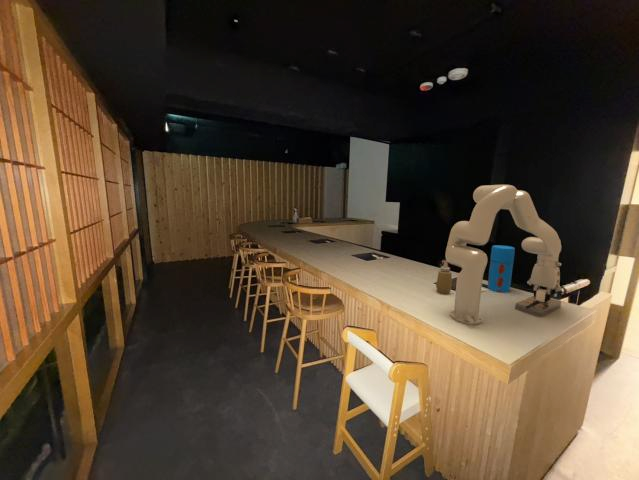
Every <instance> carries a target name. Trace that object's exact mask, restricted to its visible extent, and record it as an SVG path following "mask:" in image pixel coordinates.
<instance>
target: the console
mask: <svg viewBox="0 0 639 480" xmlns="http://www.w3.org/2000/svg"><path fill="white" fill-rule="evenodd" d="M561 305H562V301H561V300H558V299H555V298H550V300H549V301H548V302H541V303H539V301H537V300H535V299H534V295H532V296H530V297H528V298H525V299H523V300H520V301H518V302H516V303H515V305H514V306H515V308H514V309H515V310H517V311H519V312H523V313H526V314H529V315H532V316H535V317H539V318H542V317H544V316H546V315H547V314H549V313H551V312H554V311H555V310H558V309H559V308H561Z"/></svg>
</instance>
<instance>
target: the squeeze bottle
mask: <svg viewBox="0 0 639 480" xmlns="http://www.w3.org/2000/svg"><path fill="white" fill-rule="evenodd" d="M452 277H453V276H452V272H451V267H449V263H448V261H447V260H444V263H443V265H442V266H440V270H439V271H438V273H437V279H436V284H435V286H436V287H435V288H436V291H437V292H438V293H439V294H441V295H442V294H443V295H448V294H450V293H451V290H452V288H453V286H452V284H453V282H452V281H453V280H452Z"/></svg>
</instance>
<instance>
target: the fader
mask: <svg viewBox="0 0 639 480" xmlns="http://www.w3.org/2000/svg"><path fill="white" fill-rule="evenodd" d="M546 294H547V289H543V288H539V289H538V290H537V292H536V299H535V300H537V301H539V303H541V302H545V295H546Z"/></svg>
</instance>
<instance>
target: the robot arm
mask: <svg viewBox="0 0 639 480" xmlns="http://www.w3.org/2000/svg"><path fill="white" fill-rule="evenodd" d="M472 198H473V200H474V202H475V203H476V204H475V206H474V208H473V210H472V212H471V216H470V219H469V221H468V220H461V221H458V222H456V223H455V224H454V225H453V226H452V227H451V230H450V232H449V236H448V241H447V244H446V245H447V246H446V248H445V261H447V263H448V264H450V265H453V266H456V267H459V268H461V271H459V273H458V275H457V277H456V286H455V299H454V305H453V306H454V309H453V310H451V311H450V312H449V316H450V318H451V319H452V320H454V321H456V322H459V323H461V324H466V325H480V324H482V323H483V317H482V316H481V315H480V306H481V297H482V296H481V295H482V287H483V278H484V273H485V270H486V268H487V264H488V260H489V259H488V256H487V254H486V253H485V252H484V251H483V250H481V249H479V248H475V247H471V246H468V245H467V244H470V245H475V246H485V245H486V244H487V243H488V242H489V240H490V236H491V232H492V229H493V226H494V222H495V219H496V216H497V214H498V212H499V211H500V210H508V211H509V212H510V214H511V216H512V219H513V221H514V224H515V225H516V226H517V228H519V229H521V230H523V231H525V232H527V233H530V234H532V235H534V236H529V237H526V238H525V239H523V240H522V242H521V248H522V250H523V251H525V252H527V253H530V254H535V255H537V258H536V259H537V260H536V263H535V264H534V266H533V268H532V271H531V274H530V278H529V279H528V280H527V281H526V283H527V285H529V286H530V287H531V288H532V290H533V296H534V299H536V292H537V290H538V289H540V287H542V288H543V287H544V288H546V290H547V294H546V295H545V302H548V301H549V300H550V298H551V297H552V294H554V293H557V292H561V291H562V290H563V289H562V287H561V286H560V282H561V281H560V280H561V272H560V267H561V266H562V263H561V262H559V257H560V253H561V251H562V244H561V239H560V237H559V235H558V232H557V231H556V230H555V229H554V228H553V227H552V226H551V225H549V224H548V223H547V222H546V221H544V220H543V219H541V218H540V217H539V215H538V212H537V210H536V207H535V205H534V202H533V200H532V197H531V196H530V194H529V192H527V191H525V190H521V189H520V190H519V189H517V188H516V187H515V186H514V185H511V184H492V185H491V184H490V185H489V184H488V185H486V184H485V185H480V186H478V187H477V188H476V189H474V191H473V194H472ZM551 299H552V298H551Z"/></svg>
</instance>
